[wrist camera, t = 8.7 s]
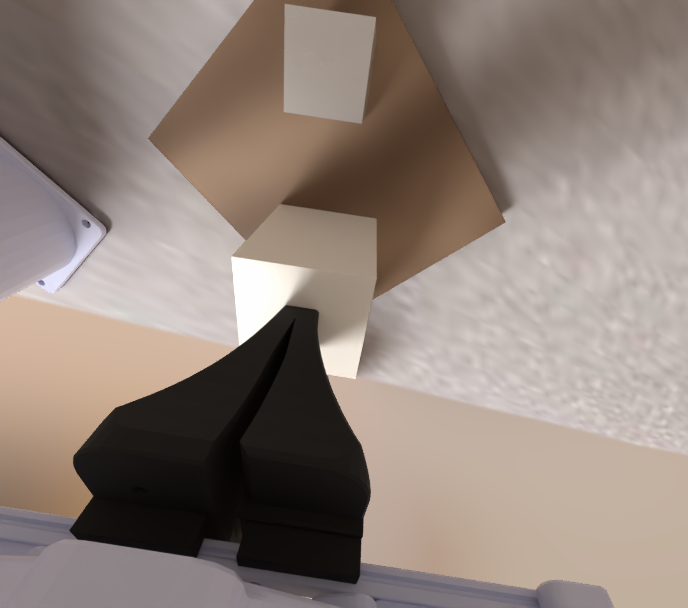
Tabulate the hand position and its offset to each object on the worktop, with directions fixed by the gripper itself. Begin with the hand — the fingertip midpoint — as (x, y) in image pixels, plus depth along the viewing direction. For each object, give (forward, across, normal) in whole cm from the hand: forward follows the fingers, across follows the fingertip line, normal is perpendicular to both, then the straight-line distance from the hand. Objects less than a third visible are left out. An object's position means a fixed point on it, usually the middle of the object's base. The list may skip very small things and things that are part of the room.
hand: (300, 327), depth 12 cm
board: (+8, 0, -4) cm, 9 cm away
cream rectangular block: (+7, 0, 0) cm, 7 cm away
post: (+7, 0, -8) cm, 11 cm away
